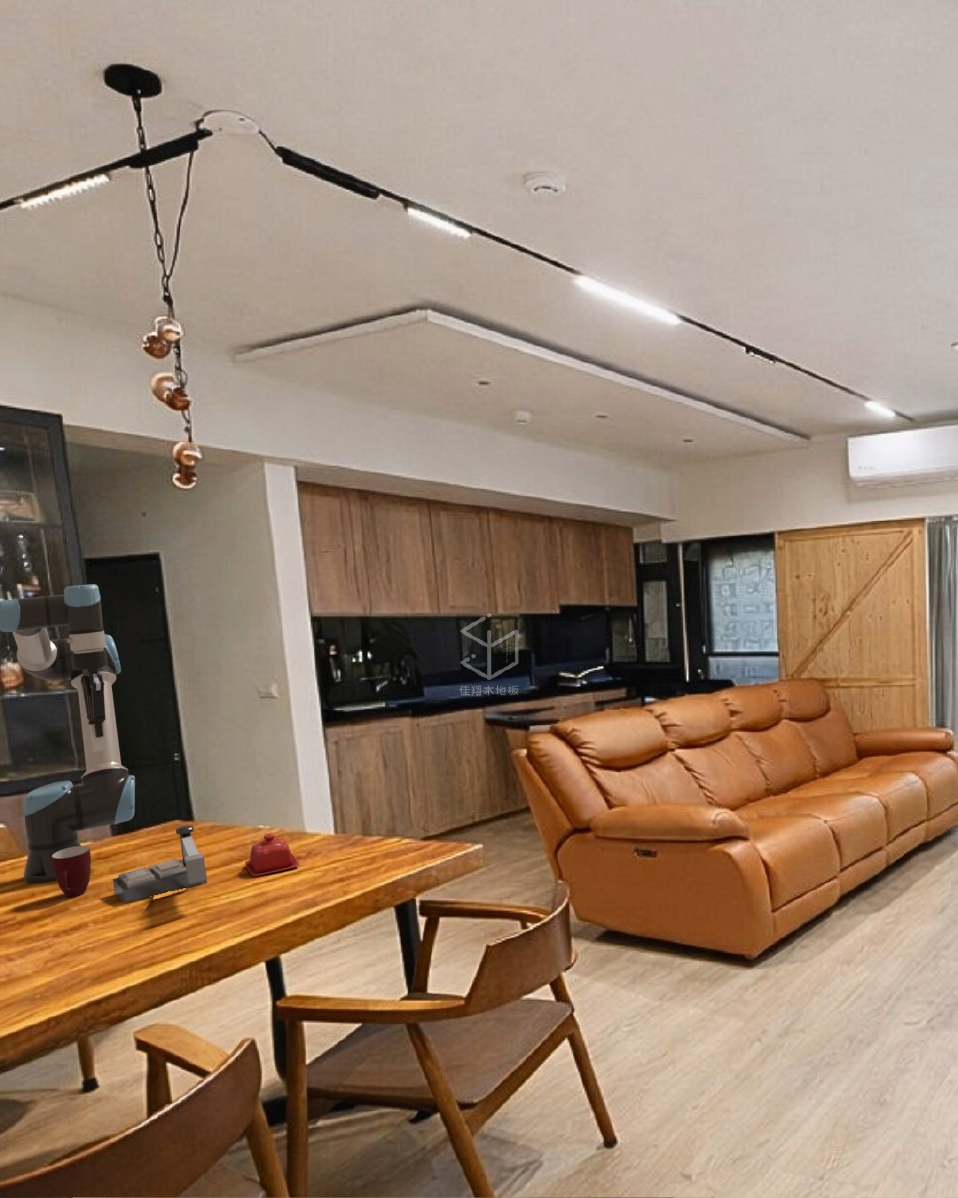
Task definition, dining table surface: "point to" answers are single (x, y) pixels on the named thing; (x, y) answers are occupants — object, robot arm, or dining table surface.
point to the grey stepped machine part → (155, 877)
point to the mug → (72, 869)
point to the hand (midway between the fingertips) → (99, 750)
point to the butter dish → (270, 856)
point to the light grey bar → (193, 861)
